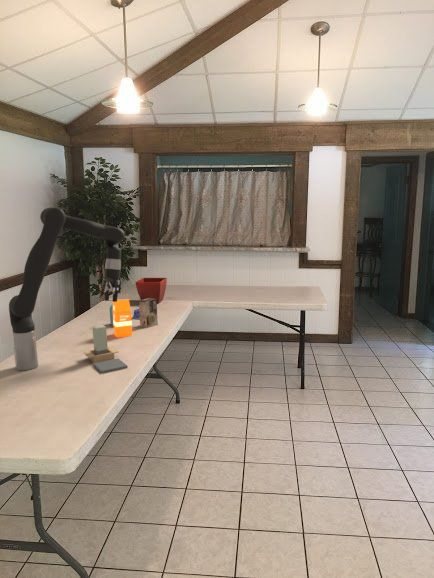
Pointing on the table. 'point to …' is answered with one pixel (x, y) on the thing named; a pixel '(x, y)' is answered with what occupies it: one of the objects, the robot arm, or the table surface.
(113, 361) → the slate mat
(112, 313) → the data package
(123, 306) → the orange juice
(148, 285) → the plant pot
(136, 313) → the pudding
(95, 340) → the box
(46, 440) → the table surface
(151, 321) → the coffee box
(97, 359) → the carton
